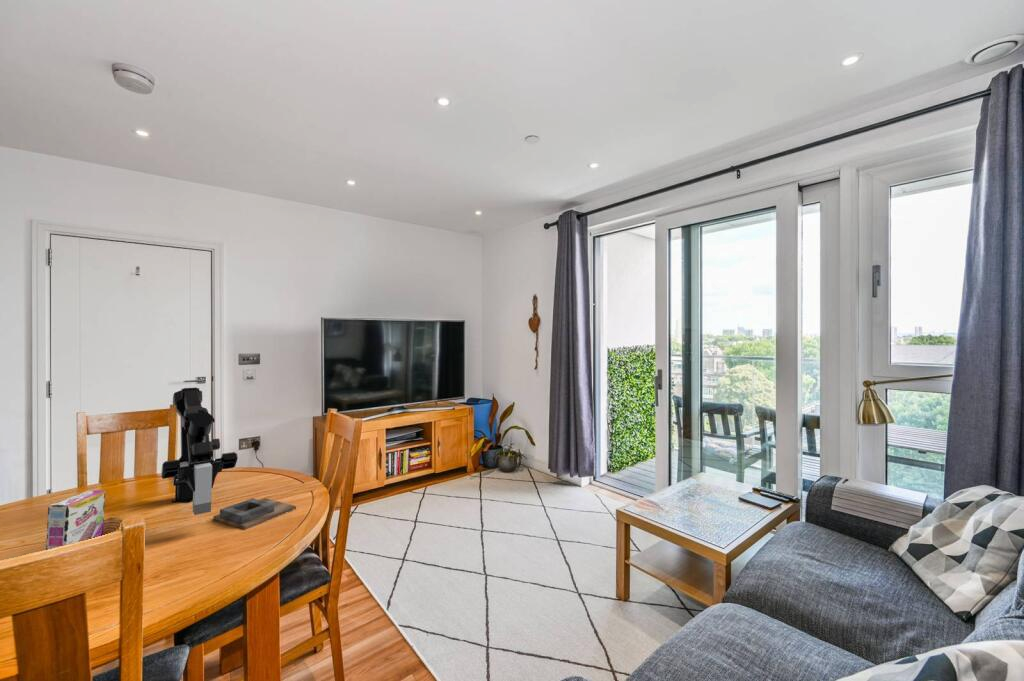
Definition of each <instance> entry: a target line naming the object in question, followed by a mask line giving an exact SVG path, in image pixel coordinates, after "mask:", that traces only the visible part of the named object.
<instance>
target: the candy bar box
mask: <svg viewBox="0 0 1024 681" xmlns="http://www.w3.org/2000/svg"><path fill="white" fill-rule="evenodd" d="M105 498H106V491H105V490H86V491H84V492H81V493H78V494H76V495H73V496H70V497H68V498H65V499H62V500H60V501H57V502H55V503H52V504H49V505H48V506H47V523H46V524H47V525H46V547H45V548H46V549H45V551H46V550H48V549H52V548H55V547H59V546H64V545H68V544H72V543H76V542H80V541H84V540H88V539H92V538H95V537H98V536H102V535H103V525H104V520H105V518H104V517H105V501H106V499H105Z"/></svg>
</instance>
